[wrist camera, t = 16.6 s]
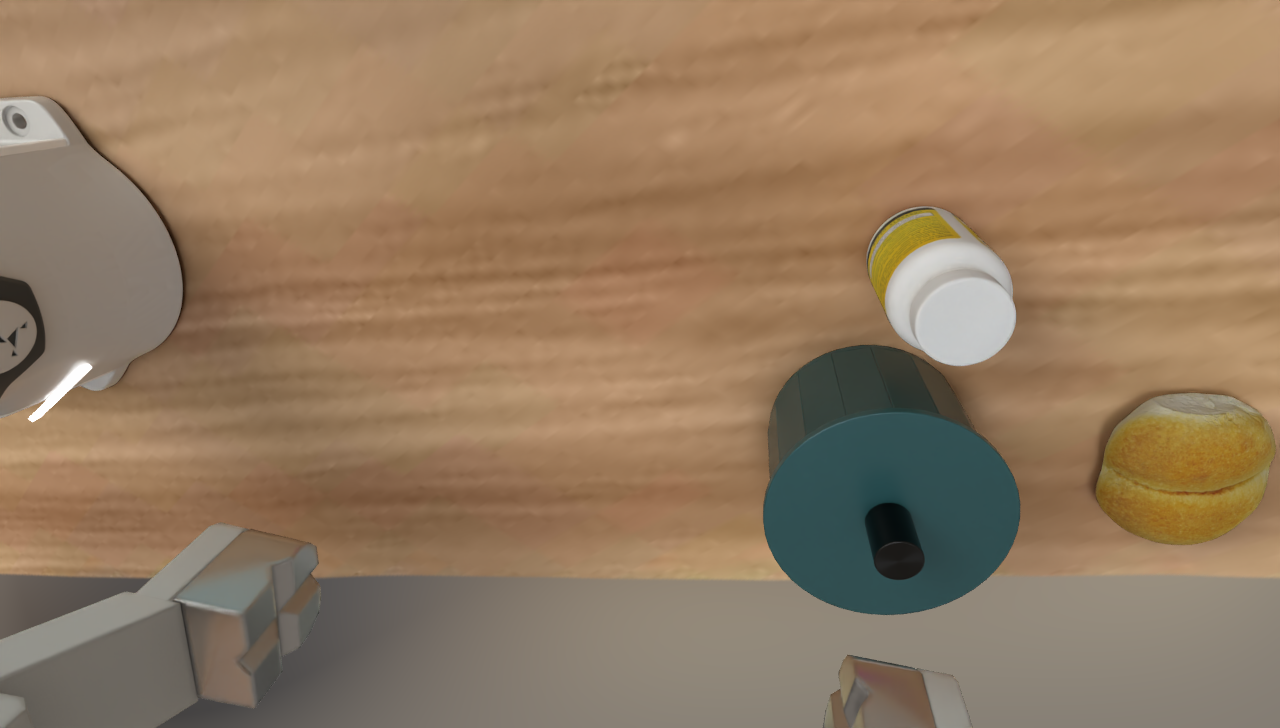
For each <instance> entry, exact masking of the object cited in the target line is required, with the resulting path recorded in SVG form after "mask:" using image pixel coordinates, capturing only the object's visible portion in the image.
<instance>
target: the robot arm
mask: <svg viewBox="0 0 1280 728" xmlns="http://www.w3.org/2000/svg"><path fill="white" fill-rule="evenodd" d="M24 118H25V120H26V122H27V123H26V122H25V120H24ZM182 298H183V282H182V274H181V268H180V264H179V260H178V256H177V253H176V250H175V247H174V245H173V242H172V240H171V237H170V235H169V233H168V231H167V229H166V227H165V225H164V224H163V222H162V220H161V218H160V217H159V215H158V214H157V212H156V211H155V209H154V208H153V206H152V205H151V204H150V202H149V201H148V200H147V198H146V197H145V196H144V195H143V194H142V192H141V191H140V190H139V189H138V188H137V187H136V186H135V185H134V184H133V183H132V182H131V181H130V180H129V179H128V178H127V177H126V176H125V175H124V174H123V173H122V172H120V171H119V170H118V169H117V168H116V167H114V166H113V165H112V164H111V163H109V162H108V161H107V160H106V159H104V158H103V157H102V156H101V155H99V154H98V153H97V152H96V151H95V150H94V149H93V148H92V147H91V146H90V145H89V144H88V143H87V141H86V140H85V139H84V137H83V136H82V134H81V133H80V131H79V130H78V129H77V127H76V126H75V124H74V123H73V122H72V120H71V119H70V118H69V116H68V115H67V114H66V113H65V111H64V110H63V109H62V108H61V107H60V106H59V105H58V104H57V103H56V102H54V101H53V100H51V99H49V98H47V97H44V96H28V97H10V98H0V418H3V417H6V416H9V415H11V414H14V413H16V412H19V411H21V410H24V409H26V408H28V407H31V406H33V405H36V404H38V403H40V402H43V401H45V400H47V401H46V402H45V403H44V404H43V405H41V406H40V407H39V408H38V409H37V410H36V411H35V412H34V413H33V414H32V415H31V416H30V417H29V418H28V419H30V420H31V421H32V422H33V421H35V420H37V419H38V418H40V417H42V416H43V415H44V414H45V413H46V412H47V411H48V410H49V409H50V408H51V407H52V406H53V405H54V404H55V403H56V402H57V401H58V400H59V399H60V398H61V397H62V396H63V395H64V394H65V393H67V392H68V391H69V390H71V389H74V388H76V387H78V386H81V387H84V388H86V389H89V390H93V391H100V390H103V389H106V388H108V387H111V386H113V385H115V384H116V383H117V382H118V381H119V380H120V378H121V377H122V376H123V374H124V372H125V370H126V369H127V367H128V365H129V363H130V362H131V361H133V360H134V359H136V358H137V357H139V356H141V355H143V354H145V353H147V352H149V351H151V350H153V349H155V348H156V347H157V346H159V345H160V344H161V343H162V342H163V341H164V340H165V339H166V338H167V337H168V336H169V335H170V333H171V332H172V330H173V328H174V327H175V325H176V322H177V320H178V317H179V314H180V311H181V306H182ZM318 564H319V562H318V554H317V547H316V546H315V545H313V544H311V543H309V542H304V541H300V540H296V539H292V538H288V537H283V536H279V535H275V534H271V533H266V532H262V531H258V530H254V529H246V528H242V527H238V526H234V525H230V524H225V523H221V522H220V523H217V524H215V525H212V526H210V527H208V528H207V529H206V530H205V531H204V532H203V533H202V534H200V535H199V536H198V537H197V538H196V539H195V540H194V541H193V542H192V543H190V544H189V545H188V546H187V547H186V548H185V549H184V550H183V551H182V552H181V553H179V554H178V555H177V556H176V557H175V558H174V559H173V560H172V561H171V562H170V563H168V564H167V565H166V566H165V567H164V568H163V569H162V570H161V571H160V572H159V573H157V574H156V575H155V576H154V577H153V578H152V579H151V580H150V581H149V582H148V583H146V584H145V585H144V586H143V587H142V588H141V589H140V590H139V591H138V592H137V593H130V592H123V593H121V594H118V595H116V596H113V597H111V598H108V599H105V600H103V601H100V602H98V603H95V604H92V605H90V606H87V607H84V608H82V609H79V610H77V611H74V612H71V613H69V614H66V615H64V616H61V617H59V618H56V619H53V620H51V621H48V622H46V623H43V624H40V625H38V626H36V627H32V628H30V629H27V630H25V631H22V632H20V633H17V634H14V635H12V636H9V637H7V638H4V639H2V640H0V728H156V727H157V726H159V725H161V724H162V723H164V722H165V721H167V720H168V719H170V718H172V717H173V716H175V715H177V714H178V713H180V712H181V711H183V710H184V709H186V708H187V707H189V706H191V705H192V704H194V703H195V702H197V701H198V698H203V699H208V700H213V701H219V702H224V703H229V704H234V705H239V706H244V707H250V708H256V707H257V705H258V704H259V702H260V701H261V700H262V698H263V697H264V696H265V694H266V693H267V692H268V690H269V689H270V687H271V686H272V685H273V684H274V682H275V681H276V679H277V678H278V677H279V675H280V674H281V673H282V661H281V657H283V656H285V655H287V654H289V653H290V652H292V651H294V650H296V649H298V648H300V647H301V645H302V644H303V642H304V641H305V639H306V638H307V637H308V635H309V634H310V632H311V630H312V628H313V625H314V623H315V620H316V618H317V615H318V613H319V607H320V601H321V593H320V592H321V591H320V585H319V584H318V582H317V581H316V580H315V578H314V577H313V576H312V575H311V572H312V571H313V570H314V569H315V567H316V566H317V565H318ZM839 681H840V689H839V690H838V691H836V692H834V693H833V694H831V695H830V698H829V702H828V705H827V708H826V711H825V718H824V725H823V728H973V726H972V723H971V720H970V717H969V714H968V711H967V708H966V705H965V702H964V699H963V696H962V693H961V690H960V687H959V684H958V681H957V680H956V679H955V678H954V676H953V675H949V674H944V673H939V672H934V671H928V670H923V669H915V668H912V667H907V666H902V665H897V664H892V663H887V662H882V661H877V660H872V659H867V658H862V657H857V656H852V655H847V657H846V658H845V659H844V660H843V662H842V665H841V668H840V670H839Z"/></svg>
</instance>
